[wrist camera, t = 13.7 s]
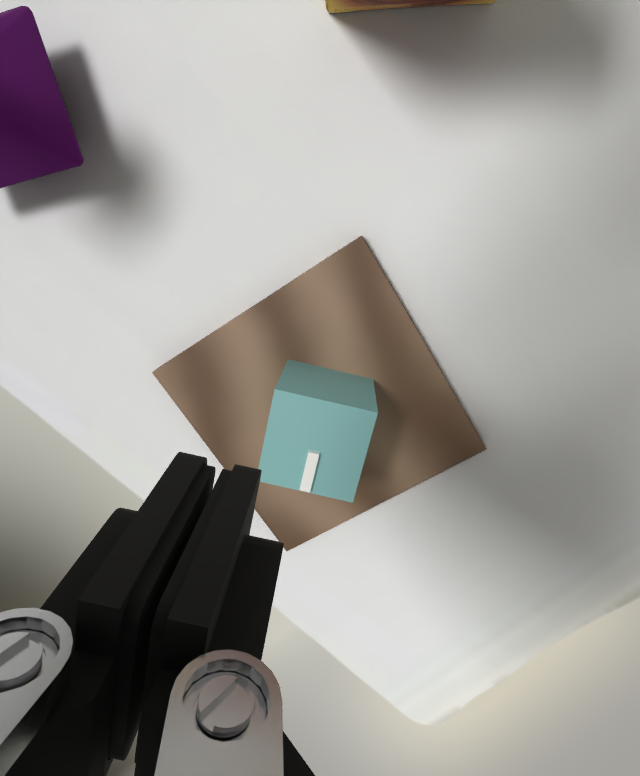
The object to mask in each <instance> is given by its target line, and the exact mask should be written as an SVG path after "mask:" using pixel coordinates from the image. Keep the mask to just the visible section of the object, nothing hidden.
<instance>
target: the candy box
mask: <svg viewBox="0 0 640 776" xmlns="http://www.w3.org/2000/svg"><path fill="white" fill-rule="evenodd" d="M325 2H326V9H327V11H328V12H329V13H340V12H351V11H362V10H375V9H390V8H407V7H424V6H446V5H460V4H492V3H494V2H495V0H325Z"/></svg>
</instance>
